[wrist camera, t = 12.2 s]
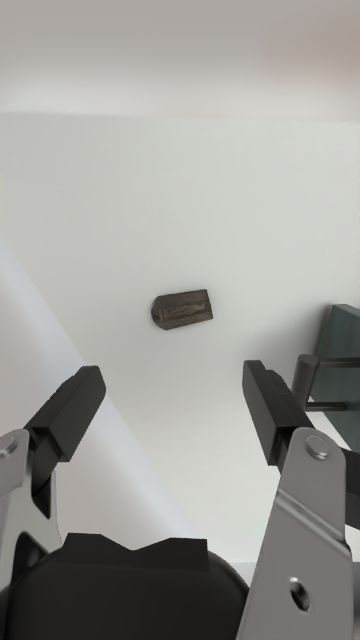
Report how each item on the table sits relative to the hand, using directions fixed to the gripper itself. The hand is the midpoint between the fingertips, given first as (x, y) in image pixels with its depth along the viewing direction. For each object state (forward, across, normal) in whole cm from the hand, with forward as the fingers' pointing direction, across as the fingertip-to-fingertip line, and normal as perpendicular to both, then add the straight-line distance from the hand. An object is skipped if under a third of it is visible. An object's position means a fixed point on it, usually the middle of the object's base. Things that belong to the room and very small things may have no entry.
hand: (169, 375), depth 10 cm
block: (+10, 0, 0) cm, 10 cm away
